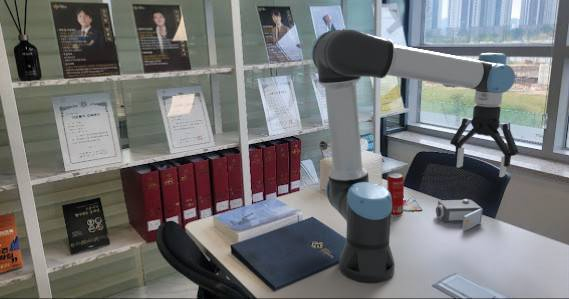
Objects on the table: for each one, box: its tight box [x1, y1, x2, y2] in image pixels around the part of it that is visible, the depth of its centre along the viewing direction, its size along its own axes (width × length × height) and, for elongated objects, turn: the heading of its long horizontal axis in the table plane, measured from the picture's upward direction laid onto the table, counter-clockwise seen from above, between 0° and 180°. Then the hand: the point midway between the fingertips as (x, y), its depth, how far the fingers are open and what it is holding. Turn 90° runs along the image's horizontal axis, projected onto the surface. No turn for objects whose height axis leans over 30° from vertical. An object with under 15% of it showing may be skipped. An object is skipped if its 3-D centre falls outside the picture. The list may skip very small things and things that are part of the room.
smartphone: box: [403, 198, 423, 212], centre depth 165 cm, size 8×1×15 cm
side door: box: [461, 207, 483, 232], centre depth 144 cm, size 11×1×5 cm, turn 128°
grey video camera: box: [435, 198, 482, 224], centre depth 151 cm, size 14×8×6 cm, turn 93°
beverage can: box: [386, 172, 405, 217], centre depth 154 cm, size 6×6×15 cm
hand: (480, 171), depth 136 cm, fingers open, 13 cm apart
